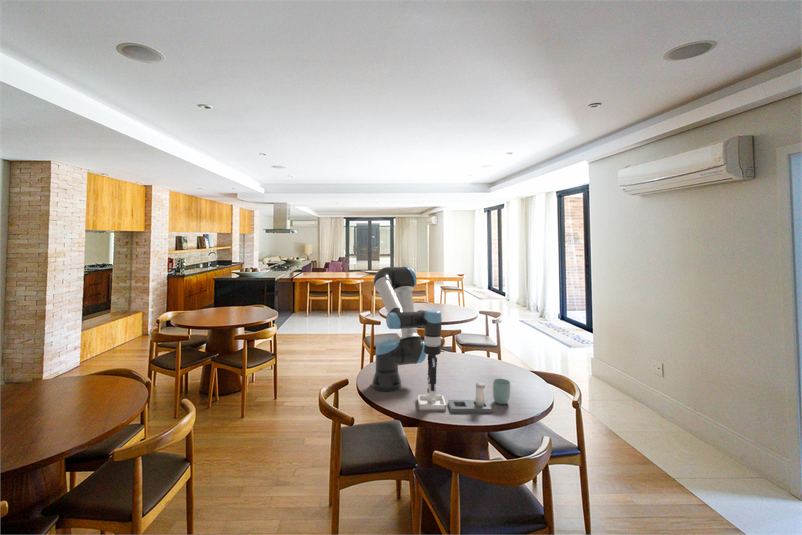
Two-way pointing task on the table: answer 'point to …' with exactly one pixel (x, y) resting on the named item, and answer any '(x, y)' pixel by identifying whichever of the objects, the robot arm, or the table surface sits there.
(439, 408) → the tray
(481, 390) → the cylinder
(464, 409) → the holder
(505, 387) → the cup
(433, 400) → the cylinder
